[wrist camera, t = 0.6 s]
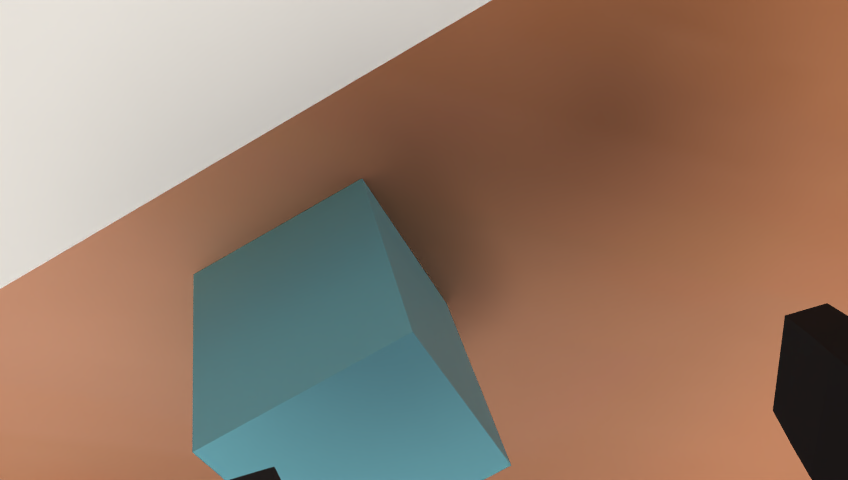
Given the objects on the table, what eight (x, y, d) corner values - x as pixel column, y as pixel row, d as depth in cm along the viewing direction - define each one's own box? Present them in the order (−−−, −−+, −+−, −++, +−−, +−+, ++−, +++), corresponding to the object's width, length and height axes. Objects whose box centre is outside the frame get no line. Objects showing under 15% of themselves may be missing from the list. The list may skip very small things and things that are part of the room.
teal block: (297, 384, 24) (322, 563, 19) (194, 273, 21) (192, 452, 16) (446, 303, 23) (511, 465, 18) (361, 177, 20) (413, 331, 16)
